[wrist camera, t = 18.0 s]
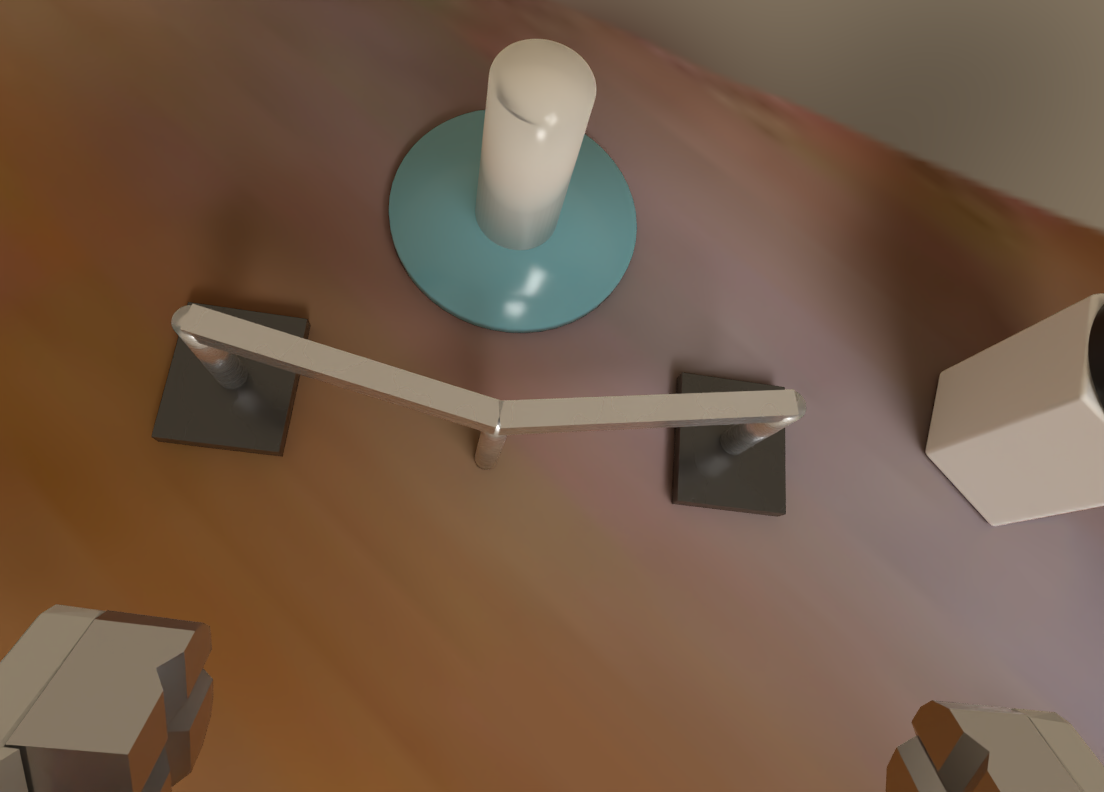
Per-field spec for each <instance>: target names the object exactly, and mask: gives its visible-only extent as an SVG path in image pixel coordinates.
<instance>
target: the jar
mask: <svg viewBox="0 0 1104 792" xmlns="http://www.w3.org/2000/svg"><path fill="white" fill-rule="evenodd" d="M925 453H926V455H927V456H928V457H929V458H930V459H931V460H932V462H933V463H934V464H935V465H936V466H937V467H938V468H939V469H940V470H941V471H942V472H943V474H944V475H945V476H946V477H947V478H948V479H949V480H950V481H951V482H952V483H953V484H954V486H955V487H956V488H957V489H958V490H959V491H960V492H961V493H962V494H963V495H964V497H965V498H966V499H967V500H968V501H969V502H970V503H971V504H972V505H973V506H974V508H975V509H976V510H977V511H978V512H979V513H980V514H981V515H982V516H983V517H984V518H985V520H986V521H987V522H988V523H989V524H990V525H992V526H1000V525H1005V524H1011V523H1016V522H1022V521H1028V520H1033V519H1039V518H1044V517H1050V516H1056V515H1061V514H1067V513H1072V512H1078V511H1083V510H1088V509H1094V508H1099V507H1104V293H1101V294H1093V295H1091V296H1089V297H1087V298H1085V299H1083V300H1081V301H1079V302H1077V303H1075V304H1073V305H1071V306H1069V307H1067V308H1065V309H1063V310H1061V311H1059V312H1057V313H1055V314H1053V315H1052V316H1050V317H1048V318H1046V319H1044V320H1042V321H1040V322H1038V323H1036V324H1034V325H1032V326H1030V327H1028V328H1026V329H1024V330H1022V331H1020V332H1018V333H1016V334H1014V335H1012V336H1010V337H1008V338H1007V339H1005V340H1003V341H1001V342H999V343H997V344H995V345H993V346H991V347H989V348H987V349H985V350H983V351H981V352H979V353H977V354H975V355H973V356H971V357H969V358H967V359H965V360H963V361H962V362H960V363H958V364H956V365H954V366H952V367H950V368H948V369H946V370H944V371H942V372H941V373H940V376H939V381H938V387H937V392H936V397H935V403H934V408H933V413H932V419H931V424H930V429H929V434H928V440H927V445H926V450H925Z"/></svg>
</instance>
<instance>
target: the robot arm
mask: <svg viewBox="0 0 1104 792" xmlns="http://www.w3.org/2000/svg"><path fill="white" fill-rule="evenodd" d="M211 650H212V645H211V632H210V626H208V625H206V624H205V623H200V622H192V621H185V620H177V619H169V618H162V617H154V616H147V615H139V614H132V613H124V612H117V611H109V610H107V611H103V610H95V609H87V608H80V607H72V606H64V605H57V604H56V605H54V606H53V607H51V608H49V609H48V610H46V611H45V612H43V613H41V614H40V615H39V616H38V617H37V618H36V619H35V621H34V622H33V623H32V624H31V626H30V627H29V628H28V629H27V630H26V632H25V633H24V634H23V635H22V637H21V638H20V639H19V640H18V641H17V643H16V644H15V645H14V646H13V648H12V649H11V650H10V651H9V652H8V654H7V655H6V656H5V657H4V659H3V660H2V661H1V662H0V792H172V789H171V787H172V786H174V785H175V784H176V783H178V782H179V781H180V780H182V779H183V778H184V777H185V776H187V775H188V774H189V773H191V772H192V769H193V767H194V765H195V762H196V760H197V758H198V755H199V753H200V750H201V748H202V746H203V742H204V739H205V735H206V732H207V728H208V724H209V721H210V717H211V710H212V702H213V679H212V678H211V677H210V676H209V675H208V673H207V672H206V671H205V670H204V669H203V666H204V664H205V662H206V660H207V658H208V656H209V654H210V652H211ZM912 725H913V728H914V730H915V733H916V736H915V737H913V738H911V739H910V740H908V741H907V742H905V743H903V744H902V745H900V746H898V747H897V748H896V750H895V752H894V754H893V756H892V758H891V760H890V762H889V764H888V766H887V776H886V792H1104V766H1103V765H1102V764H1101V763H1100V761H1099V760H1098V759H1097V757H1096V756H1095V755H1094V753H1093V752H1092V751H1091V750H1090V748H1089V747H1088V746H1087V744H1086V743H1085V742H1084V741H1083V739H1082V738H1081V737H1080V735H1079V734H1078V733H1077V732H1076V730H1075V729H1074V728H1073V726H1072V725H1071V724H1070V723H1069V722H1068V721H1066V720H1065V719H1063V718H1062V717H1061V716H1059V715H1058V714H1056V713H1055V712H1045V711H1035V710H1025V709H1015V708H1014V709H1009V708H1006V707H997V706H987V705H976V704H966V703H955V702H945V701H934V700H932V701H930V702H928V703H927V704H925V705H923V706H921V707H920V709H919V710H918V712H917V714H916V715H915V717H914V719H913V720H912Z"/></svg>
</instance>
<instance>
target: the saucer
mask: <svg viewBox="0 0 1104 792" xmlns="http://www.w3.org/2000/svg"><path fill="white" fill-rule="evenodd" d="M484 119H485V110H479V111H474V112H470V113H467V114H463V115H460V116H457V117H455V118H452V119H450V120H448V121H446V122H444V123H442V124H440V125H439V126H437V127H435V128H434V129H432V130H431V131H430V132H428V133H427V134H426V135H424V136H423V137H422V138H421V139H420V140H419V141H418V142H417V143H416V144H415V145H414V146H413V147H412V148H411V150H410V151H409V152H408V153H407V155H406V156H405V157H404V159H403V161H402V163H401V165H400V166H399V168H398V170H397V173H396V175H395V178H394V181H393V183H392V188H391V193H390V198H389V219H390V229H391V236H392V239H393V243H394V247H395V250H396V252H397V255H398V257H399V260H400V262H401V264H402V266H403V267H404V269H405V271H406V272H407V274H408V276H409V277H410V278H411V280H412V281H413V282H414V283H415V285H416V286H417V287H418V288H419V289H420V290H421V291H422V292H423V293H424V294H425V295H426V296H427V297H428V298H429V299H430V300H431V301H432V302H434V303H435V304H436V305H438V306H439V307H440V308H442V309H443V310H445V311H446V312H448V313H450V314H452V315H453V316H455V317H457V318H459V319H461V320H463V321H466V322H468V323H471V324H473V325H476V326H479V327H483V328H486V329H490V330H495V331H502V332H510V333H530V332H541V331H546V330H550V329H555V328H558V327H561V326H564V325H567V324H570V323H572V322H574V321H576V320H578V319H580V318H582V317H584V316H586V315H587V314H588V313H590V312H591V311H593V310H594V309H596V308H597V307H598V306H599V305H600V304H601V303H602V302H604V301H605V300H606V299H607V298H608V297H609V296H610V294H611V293H612V292H613V290H614V289H615V288H616V287H617V285H618V284H619V282H620V280H621V278H622V277H623V275H624V273H625V271H626V270H627V268H628V265H629V262H630V260H631V257H632V255H633V251H634V246H635V242H636V231H637V223H636V212H635V207H634V202H633V198H632V195H631V193H630V190H629V187H628V185H627V183H626V181H625V179H624V177H623V175H622V173H621V171H620V170H619V169H618V167H617V166H616V164H615V163H614V161H613V160H612V159H611V158H610V157H609V155H608V154H607V153H606V152H605V151H604V150H603V149H602V148H601V147H600V146H599V145H598V144H597V143H596V142H594V141H593V140H592V139H591V138H589V137H588V136H587V135H585V134H584V137H583V140H582V144H581V147H580V150H579V153H578V157H577V160H576V163H575V167H574V170H573V173H572V176H571V180H570V183H569V186H568V189H567V193H566V196H565V199H564V203H563V206H562V209H561V212H560V216H559V219H558V222H557V225H556V228H555V231H554V232H553V234H552V235H551V237H550V238H549V239H548V240H547V241H546V242H544V243H543V244H541V245H540V246H537V247H535V248H532V249H528V250H512V249H507V248H504V247H502V246H499V245H497V244H496V243H494V242H492V241H491V240H490V239H489V238H488V237H487V236H485V234H484V233H483V232H482V230H481V229H480V227H479V225H478V223H477V219H476V214H475V207H476V197H477V188H478V178H479V168H480V158H481V148H482V139H483V129H484Z"/></svg>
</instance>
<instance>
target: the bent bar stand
mask: <svg viewBox="0 0 1104 792" xmlns="http://www.w3.org/2000/svg"><path fill="white" fill-rule="evenodd" d="M171 323H172V327H173V329H174V331H175V332H176V333H177V334H178V335H179V337H178V341H177V345H176V348H175V352H174V356H173V359H172V363H171V367H170V370H169V374H168V378H167V381H166V385H165V389H164V392H163V396H162V400H161V403H160V407H159V411H158V415H157V418H156V422H155V426H154V429H153V433H152V437H153V438H154V439H156V440H157V441H158V442H167V443H175V444H183V445H192V446H200V447H208V448H216V449H225V450H233V451H241V452H249V453H258V454H266V455H274V456H282V457H283V452H284V447H285V443H286V438H287V433H288V428H289V424H290V419H291V414H292V410H293V405H294V400H295V395H296V391H297V386H298V381H299V377H300V375H303V376H306V377H309V378H313V379H316V380H319V381H322V382H326V383H329V384H332V385H335V386H338V387H342V388H345V389H348V390H351V391H354V392H358V393H361V394H364V395H367V396H371V397H374V398H377V399H380V400H383V401H387V402H390V403H393V404H396V405H399V406H403V407H406V408H409V409H412V410H416V411H419V412H422V413H425V414H428V415H432V416H435V417H438V418H441V419H444V420H448V421H451V422H454V423H457V424H461V425H464V426H467V427H470V428H473V429H477V430H480V431H481V433H480V437H479V441H478V445H477V449H476V453H475V463H476V465H477V466H478V467H479V468H481V469H484V470H488V469H491V468H493V467H494V466H495V465H496V463H497V460H498V458H499V455H500V453H501V450H502V447H503V445H504V442H505V439H506V437H507V435H517V434H538V433H560V432H581V431H603V430H624V429H646V428H668V427H675V441H674V466H673V491H672V504H679V505H687V506H695V507H703V508H712V509H720V510H728V511H736V512H745V513H753V514H761V515H770V516H781V515H784V514H786V492H785V427H786V426H788V425H790V424H792V423H793V422H795V421H797V420H798V419H800V418H802V417H803V416H804V414H805V412H806V403H805V400H804V399H803V397H802V396H801V395H800V394H799V393H797V392H795V391H794V389H792V390H785V387H779V386H772V385H765V384H758V383H751V382H744V381H737V380H730V379H723V378H716V377H709V376H702V375H695V374H688V373H682V374H681V375H680V376H679V377H678V378H677V391H676V394H661V395H635V396H609V397H583V398H557V399H531V400H505V401H501V400H498V399H495V398H491V397H488V396H485V395H482V394H479V393H476V392H472V391H469V390H466V389H463V388H460V387H456V386H453V385H450V384H447V383H444V382H441V381H437V380H434V379H431V378H428V377H425V376H421V375H418V374H415V373H412V372H409V371H406V370H402V369H399V368H396V367H393V366H390V365H386V364H383V363H380V362H377V361H374V360H370V359H367V358H364V357H361V356H358V355H355V354H351V353H348V352H345V351H342V350H339V349H335V348H332V347H329V346H326V345H323V344H320V343H316V342H313V341H310V340H307V339H308V334H309V329H310V325H309V322H308V320H307V319H303V318H296V317H289V316H282V315H275V314H268V313H261V312H254V311H247V310H240V309H233V308H226V307H219V306H212V305H205V304H198V303H191V302H188V304H187V306H184V307H181V308H180V309H178V310H177V311H176V312H175V313H174V315H173V317H172V322H171Z"/></svg>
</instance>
